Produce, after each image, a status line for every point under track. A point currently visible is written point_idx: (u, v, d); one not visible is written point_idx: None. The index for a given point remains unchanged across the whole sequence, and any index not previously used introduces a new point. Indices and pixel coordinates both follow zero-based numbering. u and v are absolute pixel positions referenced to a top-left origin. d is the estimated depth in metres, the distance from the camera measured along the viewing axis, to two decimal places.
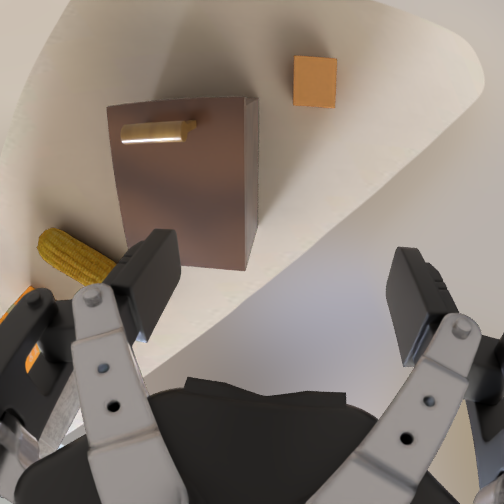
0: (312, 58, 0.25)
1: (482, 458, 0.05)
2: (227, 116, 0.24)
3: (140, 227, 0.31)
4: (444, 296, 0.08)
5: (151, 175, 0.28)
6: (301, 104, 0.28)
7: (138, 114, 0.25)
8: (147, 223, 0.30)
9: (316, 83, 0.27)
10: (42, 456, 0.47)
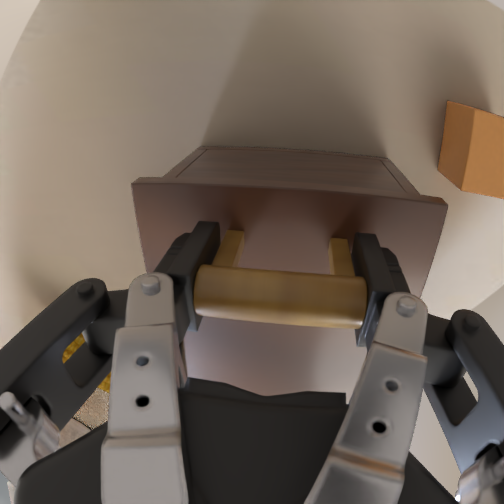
0: (497, 118, 0.13)
1: (455, 442, 0.06)
2: (411, 239, 0.12)
3: None
4: (397, 278, 0.09)
5: (232, 321, 0.15)
6: (471, 190, 0.15)
7: (210, 210, 0.12)
8: (217, 379, 0.18)
9: (496, 160, 0.14)
10: None
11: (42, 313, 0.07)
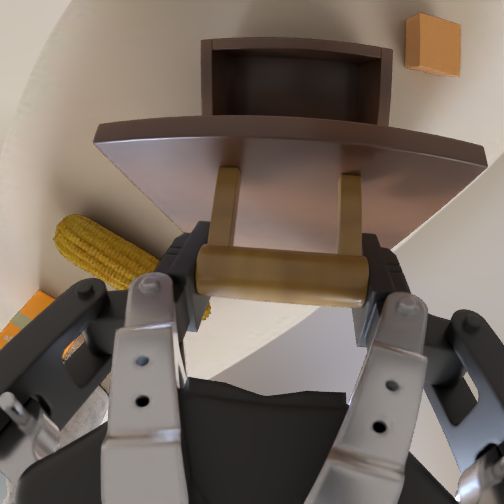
0: (437, 19, 0.17)
1: (455, 442, 0.06)
2: (435, 182, 0.09)
3: None
4: (397, 278, 0.09)
5: (240, 215, 0.15)
6: (427, 66, 0.20)
7: (194, 154, 0.10)
8: None
9: (442, 46, 0.19)
10: None
11: (42, 313, 0.07)
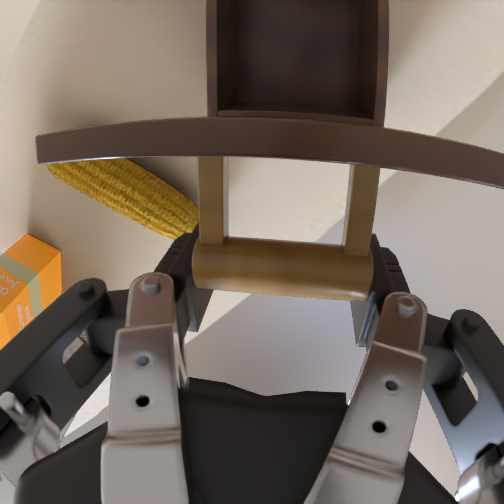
0: None
1: (455, 442, 0.06)
2: None
3: None
4: (397, 278, 0.09)
5: None
6: None
7: None
8: None
9: None
10: None
11: (42, 313, 0.07)
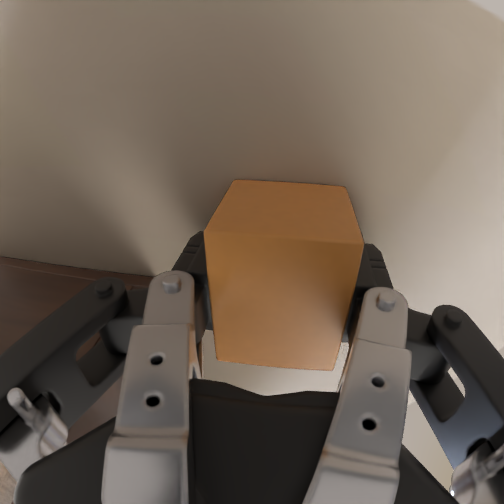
0: (271, 242, 0.08)
1: (444, 437, 0.06)
2: None
3: None
4: (380, 274, 0.09)
5: None
6: (239, 361, 0.10)
7: None
8: None
9: (283, 319, 0.09)
10: None
11: (58, 310, 0.07)
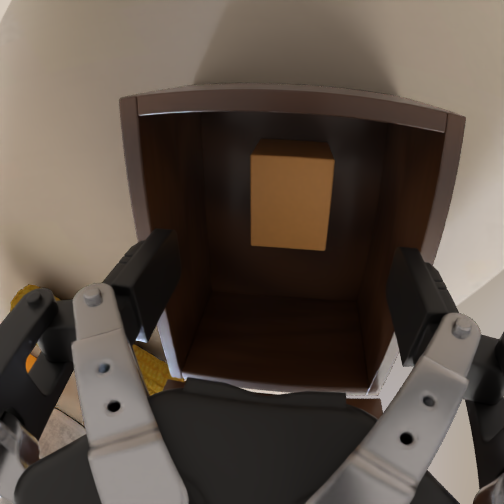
0: (286, 160, 0.15)
1: (482, 458, 0.05)
2: None
3: None
4: (443, 296, 0.08)
5: None
6: (265, 244, 0.17)
7: None
8: None
9: (293, 209, 0.16)
10: None
11: None
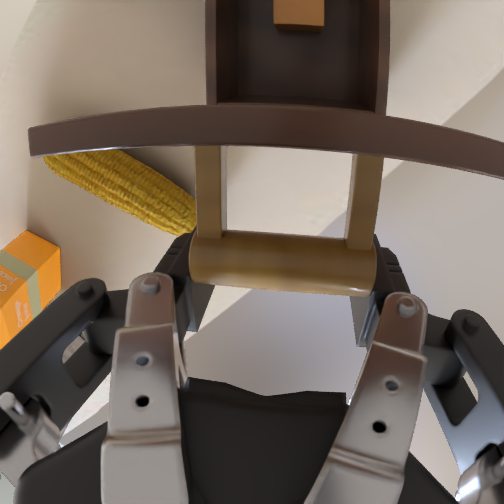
0: None
1: (455, 441, 0.06)
2: None
3: None
4: (397, 278, 0.09)
5: None
6: (283, 22, 0.20)
7: None
8: None
9: None
10: None
11: (42, 313, 0.07)
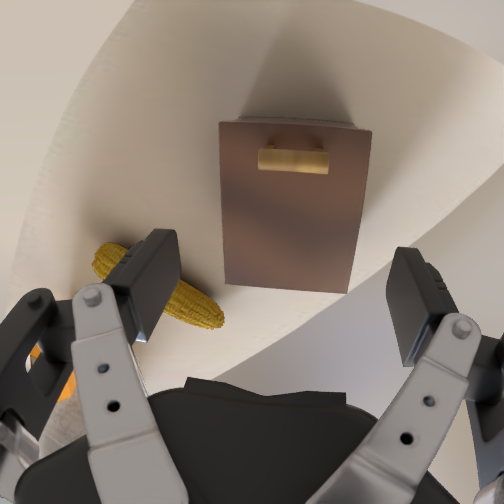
0: None
1: (482, 458, 0.05)
2: (355, 148, 0.24)
3: (244, 251, 0.31)
4: (444, 296, 0.08)
5: (265, 199, 0.28)
6: None
7: (258, 135, 0.25)
8: (252, 248, 0.31)
9: None
10: None
11: None
